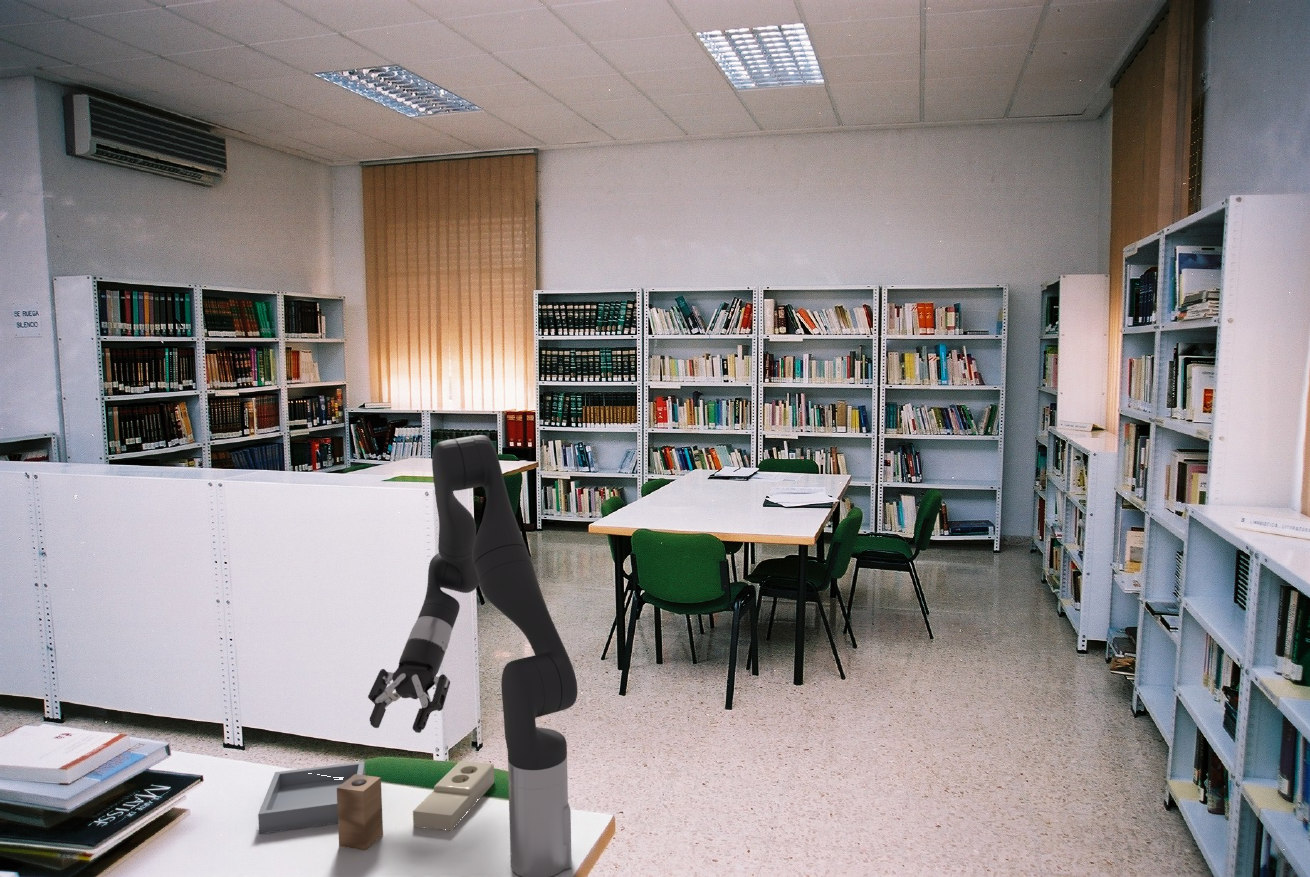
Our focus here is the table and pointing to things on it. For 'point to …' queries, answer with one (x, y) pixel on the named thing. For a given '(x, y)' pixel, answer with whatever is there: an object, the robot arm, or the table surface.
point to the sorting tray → (304, 797)
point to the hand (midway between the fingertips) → (395, 728)
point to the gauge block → (359, 812)
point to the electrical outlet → (454, 795)
